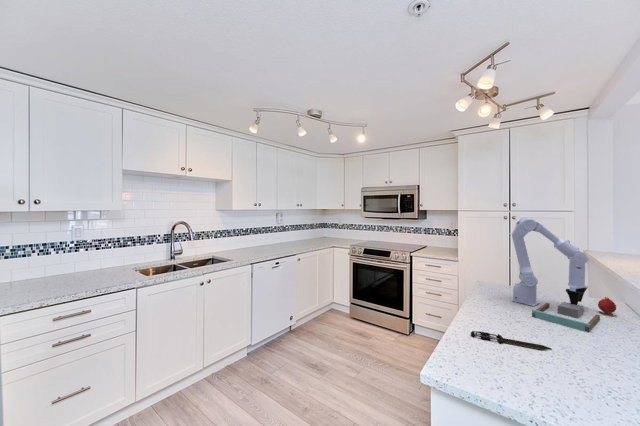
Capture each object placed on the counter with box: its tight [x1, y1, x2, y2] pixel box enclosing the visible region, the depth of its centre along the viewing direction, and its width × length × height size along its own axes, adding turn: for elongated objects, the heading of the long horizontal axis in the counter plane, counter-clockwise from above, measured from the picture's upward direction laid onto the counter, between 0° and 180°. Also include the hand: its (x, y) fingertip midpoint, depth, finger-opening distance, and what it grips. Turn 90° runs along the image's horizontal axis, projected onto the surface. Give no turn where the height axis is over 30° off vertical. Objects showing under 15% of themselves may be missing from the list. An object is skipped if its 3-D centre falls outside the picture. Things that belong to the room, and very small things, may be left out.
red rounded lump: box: [597, 296, 617, 315], centre depth 126 cm, size 6×6×8 cm
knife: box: [470, 330, 552, 351], centre depth 101 cm, size 25×6×1 cm, turn 57°
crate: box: [557, 301, 584, 319], centre depth 127 cm, size 7×8×4 cm
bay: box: [531, 302, 601, 333], centre depth 122 cm, size 19×20×3 cm
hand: (576, 303), depth 133 cm, fingers open, 7 cm apart
